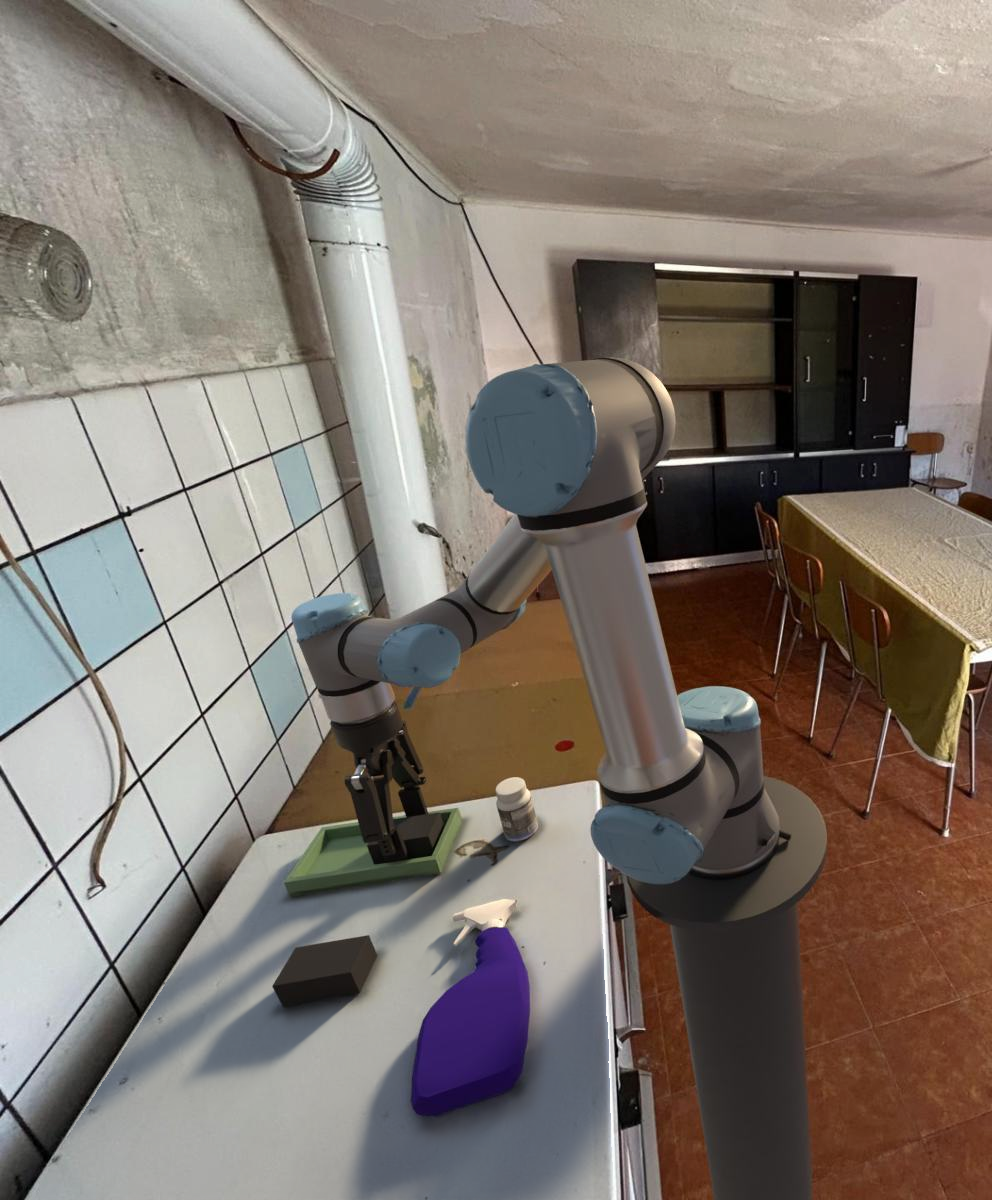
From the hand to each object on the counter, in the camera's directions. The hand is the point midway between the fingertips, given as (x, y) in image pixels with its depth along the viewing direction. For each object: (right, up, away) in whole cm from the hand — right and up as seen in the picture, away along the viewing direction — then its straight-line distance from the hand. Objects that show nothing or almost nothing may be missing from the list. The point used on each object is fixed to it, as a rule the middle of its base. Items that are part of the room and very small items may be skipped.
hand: (410, 844), depth 94 cm
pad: (0, 0, 0) cm, 1 cm away
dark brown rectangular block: (+2, -9, -18) cm, 20 cm away
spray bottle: (+20, -10, -20) cm, 30 cm away
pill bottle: (+14, +1, +4) cm, 15 cm away
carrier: (-4, -2, 0) cm, 4 cm away
